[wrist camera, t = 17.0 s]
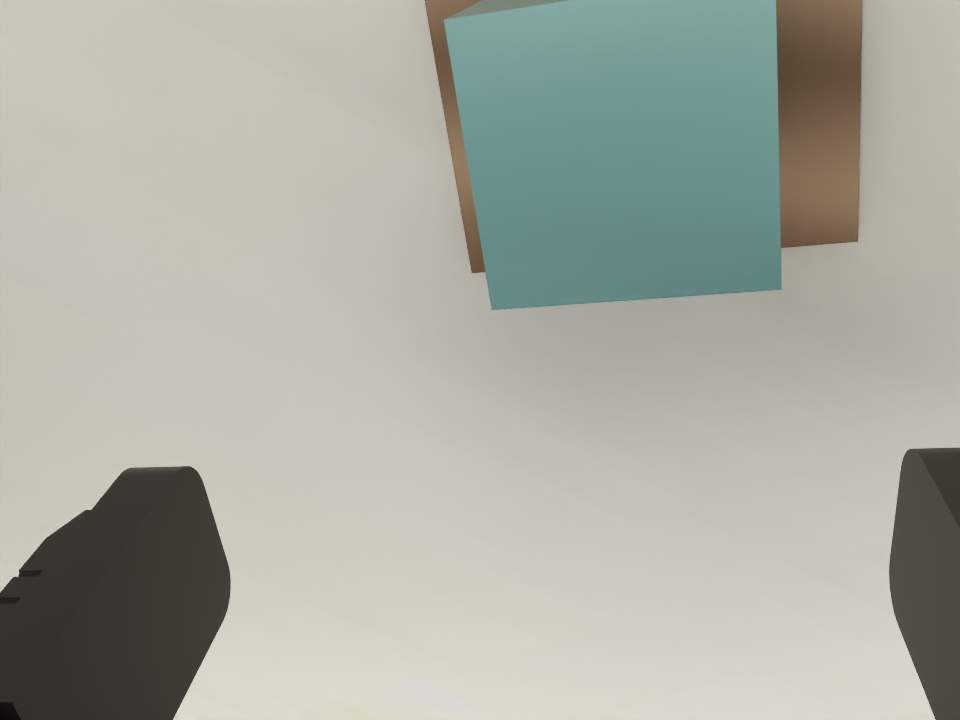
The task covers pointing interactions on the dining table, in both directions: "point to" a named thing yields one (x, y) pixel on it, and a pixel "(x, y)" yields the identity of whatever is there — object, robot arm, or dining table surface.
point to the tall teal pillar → (620, 147)
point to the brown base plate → (801, 120)
